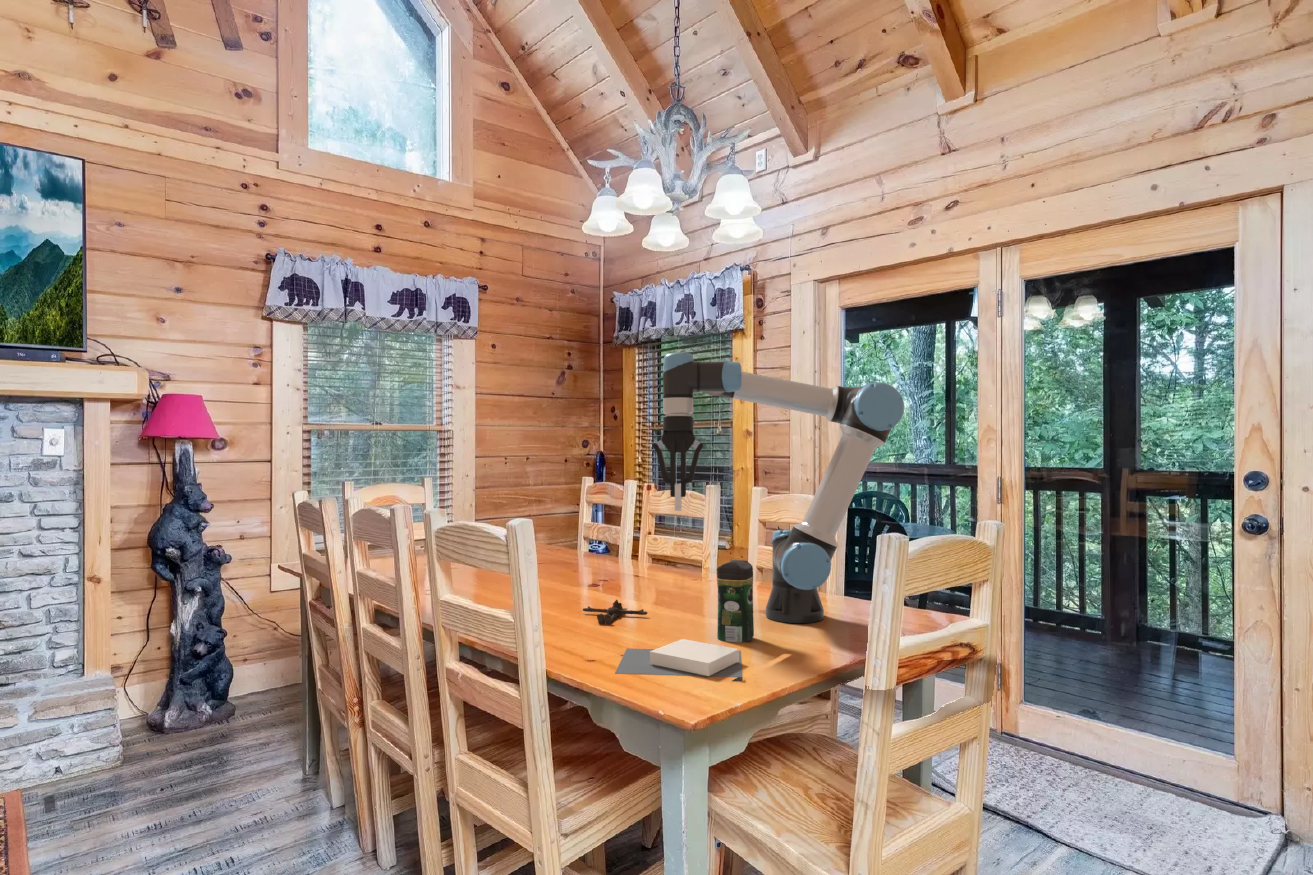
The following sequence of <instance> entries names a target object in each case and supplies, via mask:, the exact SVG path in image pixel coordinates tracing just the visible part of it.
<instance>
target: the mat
mask: <svg viewBox="0 0 1313 875" xmlns="http://www.w3.org/2000/svg"><path fill="white" fill-rule="evenodd" d="M655 649H656V648H630V647H628V648H626V649H625V652H624V653H623V655H622V657H621V659H620V662H619V663H618V666H617V668H616V670H615V671H614V674H615V675H642V676H643V675H648V676H649V675H650V676H651V675H652V676H679V677H680V676H683V677H686V676H687V677H703V676H702V675H697V674H692V673H688V672H683V671H678V670H673V669H669V668H664V667H659V666H655V665H653V664H650V651H652V650H655ZM710 677H714V678H715V677H719V678H720V677H722V678H734V679H732V680H731V682H743V677H744V676H743V665H742V652H741V650H739V662H737V663H735V664H733V665H731V666H729V667H727V668H725V669H723V670H721V671H719V672H717V673H715V674H713V675H711V676H710Z"/></svg>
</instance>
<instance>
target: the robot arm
mask: <svg viewBox="0 0 1313 875" xmlns="http://www.w3.org/2000/svg"><path fill="white" fill-rule="evenodd" d="M662 365H663V366H662V367H663V369H662V391H663V392H662V394H663V395H662V396H663V397H662V414H663V415H665V416H664V417H662V425H663V426H662V430H663V431H662V435H661V437H660V440H658V441H657V442H656V443H655V442H654V443H653V444H652V448H653V449H654V451H655V452H656V456H657V460H658V465H659V468H660V472H661V476H662V480H663V481H664V482H666V483H668V484H669V485H670V490H669V491H670V494H669V495H670V497H671V498H674V511H676V512H678V511H679V512H681V511H682V498H685V497H686V495H687V484H688V483H691V482H692V481H694V477H695V473H696V468H697V464H698V461H699V455H700V453H701V452H702V450H703V448H704V444H703V443H701V442H700V441H698V440H697V439H696V436H695V434H694V417H693V416H692V415H693V414H694V392H697V393H699V392H702V393H703V392H705V393H706V394H707V395H710V396H713V397H722V398H723V397H724V398H729V399H733V400H734V399H735V400H739V401H746V402H750V403H755V404H760V405H764V406H765V405H766V406H769V407H775V408H780V409H785V410H791V411H796V412H800V413H806V414H811V415H816V416H820V417H821V416H822V417H825V418H826V419H827V421H828V422H831V423H836V424H839V427H840V430H841V434H842V435H841V437H840V439H839V441H838V442H837V443H838V444H837V445H836V448H835V449H834V452H833V455H832V456H831V459H830V461H829V463H828V466H827V467H826V469H825V472H824V474H823V475H822V478H821V480H820V482H819V485H818V487H817V489H816V491H815V494H814V496H813V498H812V500H811V502H810V504H809V507H808V509H807V511H806V514H804V518H803V520H802V521H801V522H799V523H796V524H794V525H793V527H792V529H791V530H789V529H788V530H787V529H785V530H784V529H783V530H781V529H780V530H779V529H777V530H775V531H774V532H773V533H772V538H771V544H772V573H771V574H772V585H771V586H772V587H771V591H770V594H769V597H768V599H767V603H766V605H765V606H766V607H765V616H766V618H768V619H770V620H772V621H776V622H781V623H791V624H811V623H816V622H817V623H818V622H821V621H823V620H824V618H825V612H824V611H825V610H824V607H823V603H822V600H821V597H820V594H819V593H820V592H819V591H818V588H819V587H821V586H822V585H823V584H824V583H826V581H827V580H828V579H829V576H830V574H831V570H832V562H831V561H832V559H833V557H834V555H835V553H836V550H837V548H838V543H837V541H836V535H837V533H838V531H839V529H840V526H841V524H842V522H843V519H844V517H845V515H846V513H847V511H848V509H849V506H850V505H851V502H852V500H853V498H854V496H855V494H856V492H857V489H858V487H859V485H860V484H861V481H862V479H863V477H864V474H865V472H866V470H867V468H868V465H869V464H870V461H871V459H872V456H873V455H874V452H875V450H876V449H877V448H878V447H882V446H884V445H885V444H886V442H887V440H888V437H889V435H890V433H891V431H892V429H894V428H895V427H896V426H897V425H898V424H899V422H900V421H901V420H902V418H903V416H904V411H905V403H904V400H903V396H902V395H901V393H900V392H899V391H898V389H897V388H895V387H894V386H893V385H890V384H889V383H887V382H886V383H885V382H880V381H879V382H878V381H876V382H875V381H874V382H869V383H866V384H865V385H861V386H855V387H853V386H852V387H848V386H847V387H846V386H841V385H834V386H833V387H831V388H829V387H825V386H821V385H820V386H819V385H815V384H809V383H805V382H804V383H803V382H799V381H793V380H788V379H783V378H782V379H781V378H777V377H773V376H767V375H762V374H757V373H751V372H747V371H746V372H745V371H743V370H742V365H741V363H740V362H738V361H729V360H725V361H696V360H695V359H694V356H693V354H692V353H689V352H671V353H667V354H665V355H664V357H663V364H662ZM692 445H694V446H692ZM663 446H664V447H665V448H666V450H668V452H669V454H670V455H669V457H670V460H669V461H670V462H669V464H670V466H669V468H670V469H669V470H670V472H669V474H670V475H669V474H668V471H667V470H668V469H667V466H666V461H665V458H664V454H663V451H662V450H663V449H664V448H663ZM691 446H692V447H693V450H694V453H693V457H692V462H691V465H690V469H689V473H688V476H687V452H688V451H689V450H690V448H691ZM677 453H680V483H677V482H676V480H677V477H676V476H677V474H676V473H677V472H676V471H677V470H676V469H677V468H676V467H677V464H676V463H677V459H676V458H677Z"/></svg>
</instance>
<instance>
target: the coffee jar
mask: <svg viewBox="0 0 1313 875" xmlns="http://www.w3.org/2000/svg"><path fill="white" fill-rule="evenodd" d="M716 571H717V572H716V573H717V574H716V581H717V633H716V634H717V640H718V641H721V642H726V643H727V642H728V643H737V644H741V643H749V642H751V641H752V640H753V638H754V635H755V633H754V632H755V629H754V628H755V627H754V624H755V623H754V568H753V564H751V563H750V562H749V561H747V560H744V559H743V560H740V559H731V560H730V561H728V562H725V563H722V564H721V565H719V566H718V567H717V568H716Z"/></svg>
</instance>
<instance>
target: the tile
mask: <svg viewBox="0 0 1313 875" xmlns="http://www.w3.org/2000/svg"><path fill="white" fill-rule="evenodd" d="M654 649H655V650H652V651H650V664H653V665H655V666H659V667H664V668H669V669H673V670H678V671H683V672H688V673H692V674H697V675H702V676H701V677H706V678H708V677H712V676H711V675H713V674H715V673H717V672H719V671H721V670H723V669H725V668H727V667H729V666H731V665H733V664H735V663H737V662H739V651H740V649H739V648H734V647H728V646H722V645H718V644H711V643H706V642H702V641H701V642H700V641H696V640H690V639H685V638H680V639H679V640H676V641H673V642H670V643H668V644H666V645H664V646H660V647H658V648H654Z"/></svg>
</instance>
